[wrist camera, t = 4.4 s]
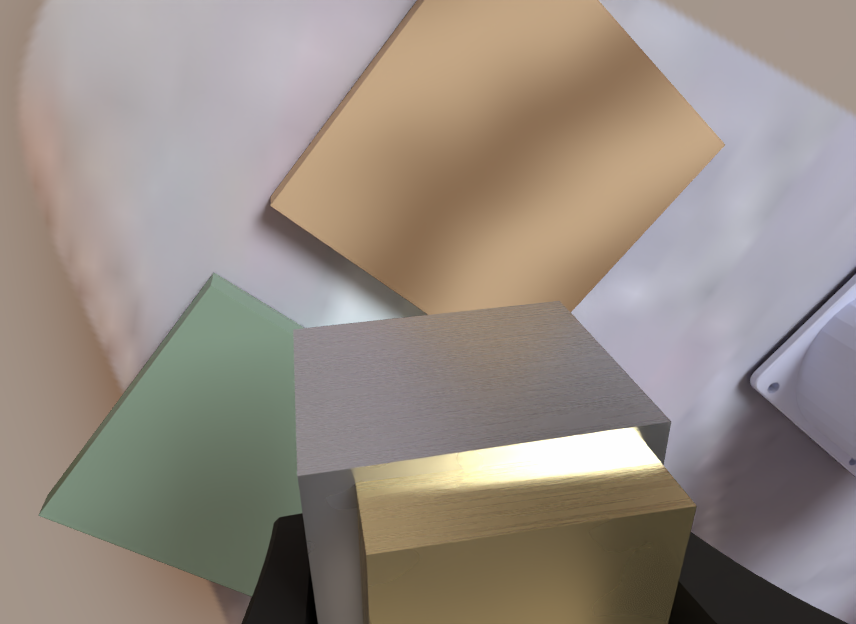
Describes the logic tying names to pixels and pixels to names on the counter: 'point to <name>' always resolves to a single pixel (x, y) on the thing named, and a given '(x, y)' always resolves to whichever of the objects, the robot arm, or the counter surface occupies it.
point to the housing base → (445, 413)
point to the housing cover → (525, 542)
